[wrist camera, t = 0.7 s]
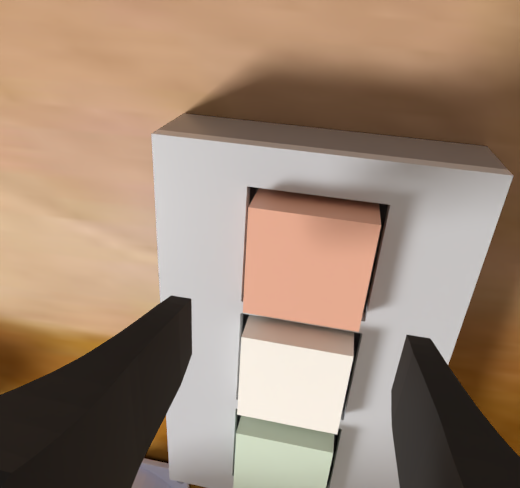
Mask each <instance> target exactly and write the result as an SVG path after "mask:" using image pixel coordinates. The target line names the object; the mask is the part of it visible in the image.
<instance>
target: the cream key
mask: <svg viewBox="0 0 520 488" xmlns="http://www.w3.org/2000/svg"><path fill="white" fill-rule="evenodd" d="M353 357H354V332H350V331H344V330H338V329H332V328H326V327H320V326H314V325H308V324H302V323H296V322H290V321H284V320H278V319H272V318H266V317H260V316H254V315H249V317H248V319H247V322H246V325H245V328H244V331H243V334H242V337H241V353H240V371H239V390H238V408H237V415H241V416H246V417H251V418H257V419H262V420H267V421H272V422H277V423H282V424H287V425H292V426H297V427H302V428H307V429H312V430H317V431H322V432H327V433H332V434H337V433H338V428H339V424H340V419H341V414H342V409H343V405H344V400H345V395H346V390H347V386H348V381H349V376H350V371H351V367H352V362H353Z"/></svg>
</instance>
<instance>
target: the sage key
mask: <svg viewBox="0 0 520 488" xmlns="http://www.w3.org/2000/svg"><path fill="white" fill-rule="evenodd" d="M333 449H334V434H332V433H327V432H322V431H317V430H312V429H307V428H302V427H297V426H292V425H287V424H282V423H277V422H272V421H267V420H262V419H257V418H251V417H246V416H241V418H240V421H239V425H238V428H237V432H236V445H235V464H234V482H233V488H326V485H327V481H328V476H329V471H330V466H331V462H332V457H333Z"/></svg>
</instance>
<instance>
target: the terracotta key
mask: <svg viewBox="0 0 520 488" xmlns="http://www.w3.org/2000/svg"><path fill="white" fill-rule="evenodd" d="M380 229H381V218H380V208H379V203H372V202H364V201H356V200H349V199H341V198H333V197H325V196H318V195H310V194H302V193H294V192H287V191H279V190H271V189H263V188H258V190H257V192H256V194H255V196H254V198H253V200H252V201H251V203H250V205H249V207H248V223H247V242H246V260H245V279H244V297H243V313H249V314H254V315H260V316H266V317H272V318H278V319H284V320H290V321H296V322H302V323H308V324H314V325H320V326H326V327H332V328H338V329H344V330H350V331H356V332H359V329H360V324H361V319H362V314H363V310H364V305H365V300H366V295H367V291H368V286H369V281H370V276H371V272H372V267H373V262H374V257H375V253H376V248H377V243H378V238H379V234H380Z"/></svg>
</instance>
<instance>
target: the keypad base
mask: <svg viewBox="0 0 520 488" xmlns="http://www.w3.org/2000/svg"><path fill="white" fill-rule="evenodd" d="M152 153H153V172H154V191H155V210H156V229H157V249H158V268H159V287H160V303H161V302H163V301H164V300H165V299H167V298H168V297H170V296H171V295H172V296H178V297H184V298H190V299H191V304H192V356H191V359H190V361H189V364H188V367H187V370H186V373H185V375H184V378H183V381H182V383H181V386H180V388H179V390H178V392H177V394H176V396H175V398H174V400H173V402H172V404H171V406H170V408H169V410H168V412H167V414H166V420H167V439H168V458H169V477H170V479H171V480H175V481H180V482H184V483H188V484H193V485H197V486H202V487H206V488H233V482H234V464H235V445H236V432H237V428H238V425H239V421H240V418H241V415H237V408H238V390H239V371H240V353H241V337H242V334H243V331H244V328H245V325H246V322H247V319H248V317H249V315H254V314H249V313H243V297H244V279H245V260H246V242H247V223H248V207H249V205H250V203H251V201H252V200H253V198H254V196H255V194H256V192H257V190H258V188H263V189H271V190H279V191H287V192H294V193H302V194H310V195H318V196H325V197H333V198H341V199H349V200H356V201H364V202H372V203H379V208H380V218H381V229H380V234H379V238H378V243H377V248H376V253H375V257H374V262H373V267H372V272H371V276H370V281H369V286H368V291H367V295H366V300H365V305H364V310H363V314H362V319H361V324H360V329H359V332H356V331H350V330H344V329H338V328H332V327H326V326H320V325H314V324H308V323H302V322H296V321H290V320H284V319H278V318H272V317H266V316H260V315H254V316H260V317H266V318H272V319H278V320H284V321H290V322H296V323H302V324H308V325H314V326H320V327H326V328H332V329H338V330H344V331H350V332H354V357H353V362H352V367H351V371H350V376H349V381H348V386H347V390H346V395H345V400H344V405H343V409H342V414H341V419H340V424H339V428H338V433H337V434H334V449H333V457H332V462H331V466H330V471H329V476H328V481H327V485H326V488H400V485H399V478H398V471H397V463H396V456H395V448H394V441H393V433H392V419H391V390H392V386H393V382H394V379H395V375H396V371H397V368H398V364H399V360H400V357H401V353H402V350H403V346H404V342H405V339H406V335H413V336H419V337H425V338H430V339H431V340H432V341H433V343H434V344H435V346H436V347H437V349H438V350H439V352H440V354H441V355H442V357H443V358H444V360H445V361H446V363H447V364H449V361H450V358H451V355H452V352H453V349H454V347H455V344H456V341H457V338H458V335H459V332H460V329H461V326H462V323H463V320H464V318H465V315H466V312H467V309H468V306H469V303H470V300H471V297H472V294H473V292H474V289H475V286H476V283H477V280H478V277H479V274H480V271H481V268H482V265H483V263H484V260H485V257H486V254H487V251H488V248H489V245H490V242H491V239H492V236H493V234H494V231H495V228H496V225H497V222H498V219H499V216H500V213H501V210H502V208H503V205H504V202H505V199H506V196H507V193H508V190H509V187H510V184H511V181H512V179H513V175H512V173H511V172H510V171H509V170H508V169H507V168H506V167H505V166H504V165H503V163H502V162H501V161H500V160H499V159H498V158H497V157H496V156H495V155H494V154H493V152H492V151H491V150H490V149H489V148H488V147H487V146H480V145H471V144H462V143H453V142H444V141H434V140H425V139H416V138H407V137H397V136H388V135H379V134H370V133H361V132H351V131H342V130H333V129H324V128H314V127H305V126H296V125H287V124H278V123H268V122H259V121H250V120H241V119H232V118H222V117H213V116H204V115H195V114H185V113H184V114H182V115H180V116H179V117H177V118H176V119H174V120H172V121H171V122H169V123H168V124H166V125H164V126H163V127H161V128H160V129H158V130H157V131H155V132H153V133H152Z"/></svg>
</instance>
